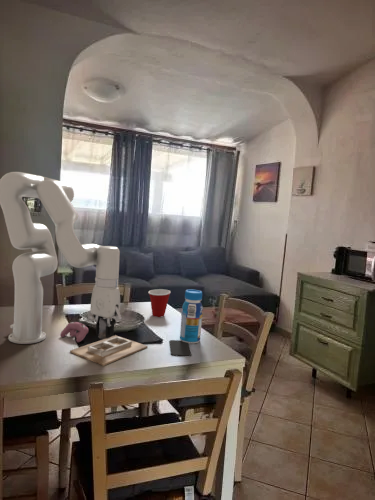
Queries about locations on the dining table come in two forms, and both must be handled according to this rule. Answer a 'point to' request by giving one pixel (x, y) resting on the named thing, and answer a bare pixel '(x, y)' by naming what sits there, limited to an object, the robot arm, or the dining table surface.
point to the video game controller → (72, 329)
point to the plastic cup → (159, 301)
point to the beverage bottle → (191, 317)
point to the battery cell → (102, 328)
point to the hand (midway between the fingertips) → (104, 334)
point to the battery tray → (108, 350)
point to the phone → (179, 348)
